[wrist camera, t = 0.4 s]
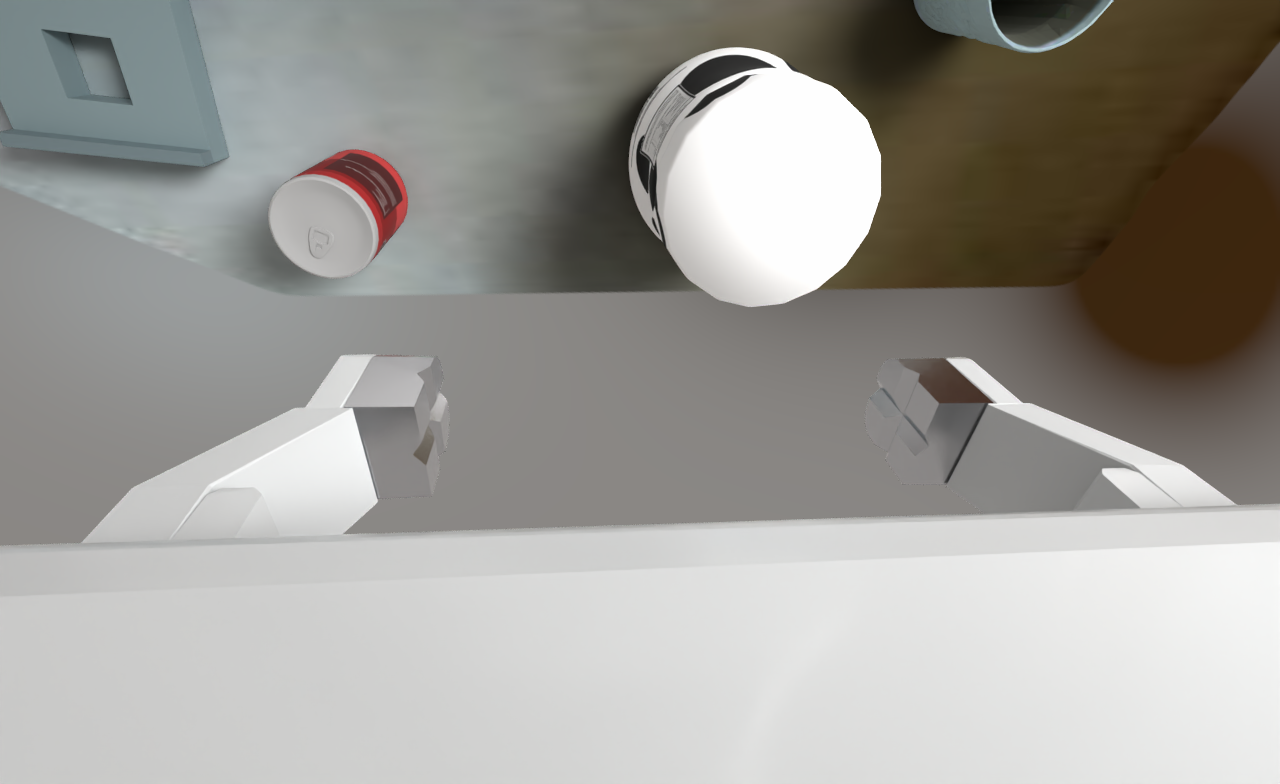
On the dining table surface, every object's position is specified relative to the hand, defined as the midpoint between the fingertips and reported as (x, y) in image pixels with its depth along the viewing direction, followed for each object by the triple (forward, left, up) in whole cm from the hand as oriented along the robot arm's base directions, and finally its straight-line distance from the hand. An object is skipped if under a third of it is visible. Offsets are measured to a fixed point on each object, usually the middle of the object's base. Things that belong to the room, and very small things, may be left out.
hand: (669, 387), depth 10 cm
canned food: (+10, -20, -47) cm, 52 cm away
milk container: (+3, +12, -47) cm, 48 cm away
